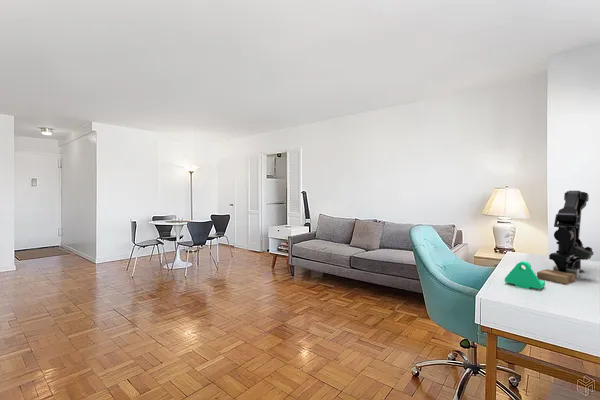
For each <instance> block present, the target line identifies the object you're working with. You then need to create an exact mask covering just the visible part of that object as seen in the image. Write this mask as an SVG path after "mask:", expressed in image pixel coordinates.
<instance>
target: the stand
mask: <svg viewBox="0 0 600 400" xmlns="http://www.w3.org/2000/svg"><path fill="white" fill-rule="evenodd" d="M536 276H537V278H538V279H539V280H542V281H545V280H546V281H545V282H550V281H551V283H555V284H560V285H564V286H566V285H570V284H572V283H574V282H577V281H576V274H572V273H566V272H561V271H555V270H553V269H549V268H547V269H543V270H540V271H537V272H536Z"/></svg>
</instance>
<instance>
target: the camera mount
mask: <svg viewBox="0 0 600 400" xmlns="http://www.w3.org/2000/svg"><path fill="white" fill-rule="evenodd" d="M522 266H524V267H525V268H523V267H522ZM504 283H508V284H513V285H515V286H514V287H517V288H522V289H527V290H531V288H533V289H534V288H535V289H540V290H541V289H543V288H544V287H545V286H546V281H545V280H541V279H538V278H537V274H536V273H535V272H534V271H533V269H532V265H531V263H529V262H528V261H525V260H524V261H520V262H518V263H516V265H515V266H514V267H513V268H512V269H511V270H510V271H509V273H508V274H507V275H506V276H505V277H504Z"/></svg>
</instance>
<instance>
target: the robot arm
mask: <svg viewBox="0 0 600 400" xmlns="http://www.w3.org/2000/svg"><path fill="white" fill-rule="evenodd" d="M589 199H590V198H589V193H588V192H585V191H581V190H568V191H566V192H564V195H563V200H564V206H563V207H562V208H560V209H558V212H557V214H555V218H554V224H553V227H554V228H558V229H557V230H555V231H554V234H553V237H554V239H555V240H556V245H557V246H558V247H557V250H556V252H552V253H550V254H549V255H548V259H549V260H551V261H553V262H554V264H555V265H557V267H558V269H559V271H561V272H566V269H567V267H573V268H579V273H581V272H584V269H581V268H582V267H581V265H582V263H581V262H582V261H584V260H585V261H587V260H590V259H591V258H592V256H593V255H594V251H593V248H592V247H590V246H586V247H585V246H584V244H583V242H582V240H581V239H580V233H581V223H582V221H581V220H582V210H584V209H585V207H587V203H588V202H589Z"/></svg>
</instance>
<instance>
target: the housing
mask: <svg viewBox="0 0 600 400" xmlns="http://www.w3.org/2000/svg"><path fill="white" fill-rule="evenodd" d="M552 268H553V269H552V270H555V271H559V269H558V267H557V265H556V264H555V265H554V266H553V267H552ZM566 273H572V274H576V280H578V279H580V272H579V268H573V267H567V269H566Z"/></svg>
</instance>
